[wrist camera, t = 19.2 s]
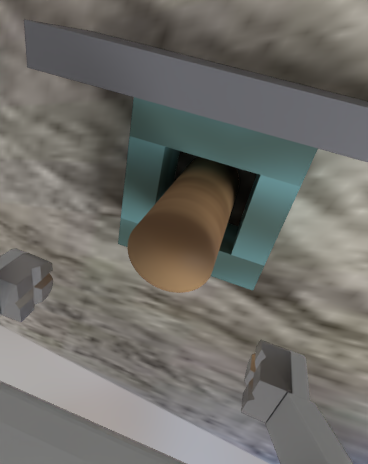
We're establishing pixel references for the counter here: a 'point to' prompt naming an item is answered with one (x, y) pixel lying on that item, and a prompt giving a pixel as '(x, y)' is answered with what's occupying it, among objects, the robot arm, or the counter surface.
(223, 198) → the dowel
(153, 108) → the block
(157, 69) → the wall
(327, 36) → the counter surface
